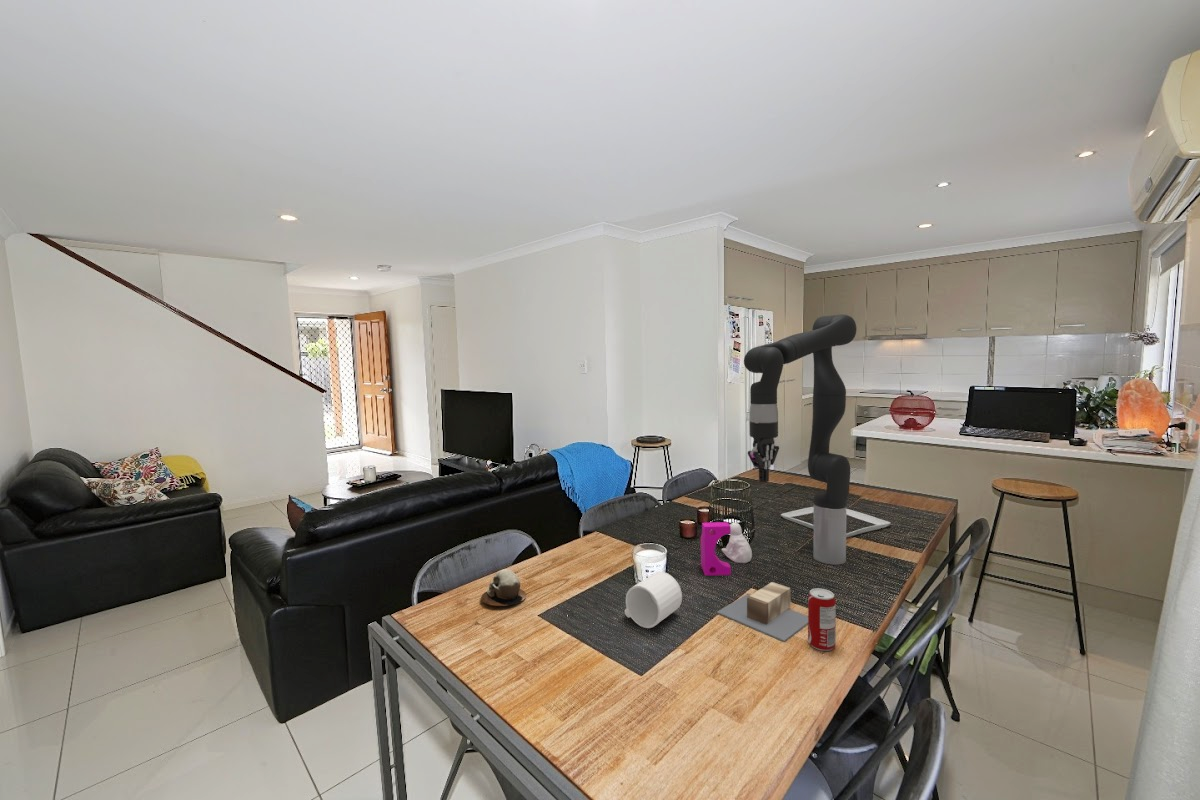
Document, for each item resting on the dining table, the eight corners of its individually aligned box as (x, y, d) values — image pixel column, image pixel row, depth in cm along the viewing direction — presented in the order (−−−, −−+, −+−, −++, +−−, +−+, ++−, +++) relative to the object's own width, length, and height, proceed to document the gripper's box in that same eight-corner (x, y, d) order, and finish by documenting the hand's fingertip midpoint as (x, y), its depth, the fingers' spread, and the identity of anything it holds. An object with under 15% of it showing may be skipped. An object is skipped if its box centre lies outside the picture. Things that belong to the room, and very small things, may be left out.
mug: (669, 565, 125) (645, 579, 117) (689, 603, 122) (667, 620, 114) (636, 582, 132) (612, 597, 125) (655, 619, 129) (631, 636, 122)
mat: (747, 595, 134) (747, 593, 134) (813, 619, 120) (813, 618, 120) (716, 613, 125) (716, 611, 125) (784, 642, 111) (784, 640, 111)
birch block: (772, 581, 129) (747, 597, 121) (790, 587, 126) (765, 604, 118) (772, 600, 130) (747, 617, 122) (790, 607, 126) (765, 624, 118)
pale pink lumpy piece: (745, 567, 151) (745, 529, 151) (720, 560, 158) (720, 523, 157) (755, 561, 156) (755, 524, 155) (731, 554, 162) (731, 518, 161)
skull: (468, 597, 134) (487, 561, 140) (493, 613, 140) (510, 579, 145) (496, 605, 126) (515, 568, 132) (521, 622, 132) (538, 586, 138)
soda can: (812, 635, 114) (812, 584, 113) (838, 643, 110) (838, 590, 109) (804, 646, 109) (804, 593, 108) (831, 655, 106) (831, 600, 105)
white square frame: (779, 522, 193) (779, 513, 193) (829, 512, 205) (829, 502, 204) (839, 545, 169) (839, 534, 168) (892, 531, 180) (892, 521, 180)
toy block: (701, 568, 152) (725, 567, 152) (705, 577, 146) (730, 576, 146) (700, 520, 151) (725, 519, 151) (704, 526, 145) (730, 526, 144)
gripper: (764, 416, 145) (764, 475, 146) (738, 421, 136) (738, 483, 138) (788, 418, 139) (788, 479, 141) (763, 423, 131) (763, 488, 132)
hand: (763, 481), depth 139 cm, fingers closed
